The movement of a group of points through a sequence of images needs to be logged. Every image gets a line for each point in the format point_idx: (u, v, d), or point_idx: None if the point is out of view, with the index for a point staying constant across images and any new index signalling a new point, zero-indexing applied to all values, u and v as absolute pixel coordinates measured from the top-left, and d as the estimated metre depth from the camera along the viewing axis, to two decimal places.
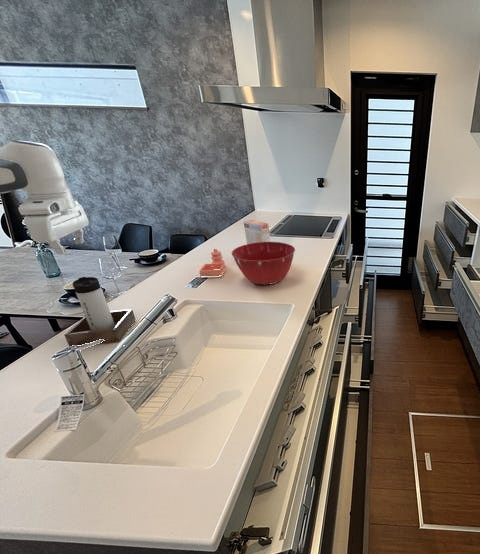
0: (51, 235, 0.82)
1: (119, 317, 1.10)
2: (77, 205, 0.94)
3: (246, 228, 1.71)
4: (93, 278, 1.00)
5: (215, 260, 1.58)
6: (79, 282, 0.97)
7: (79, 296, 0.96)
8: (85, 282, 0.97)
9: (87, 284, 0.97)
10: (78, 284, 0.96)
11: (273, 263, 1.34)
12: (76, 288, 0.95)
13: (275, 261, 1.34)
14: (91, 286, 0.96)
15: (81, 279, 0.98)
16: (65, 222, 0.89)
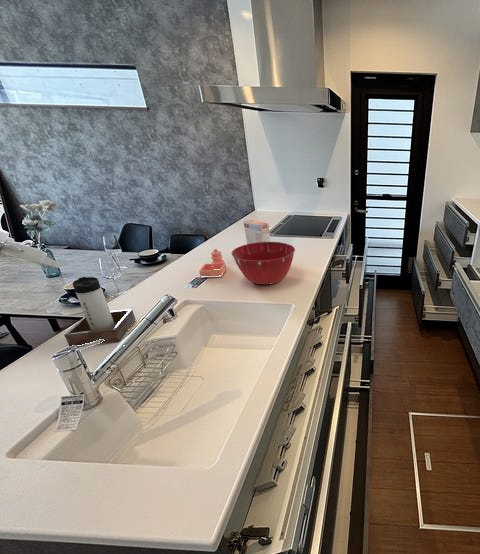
0: None
1: (119, 317, 1.10)
2: (4, 252, 0.82)
3: (246, 228, 1.71)
4: (93, 278, 1.00)
5: (215, 260, 1.58)
6: (79, 282, 0.97)
7: (79, 296, 0.96)
8: (85, 282, 0.97)
9: (87, 284, 0.97)
10: (78, 284, 0.96)
11: (273, 263, 1.34)
12: (76, 288, 0.95)
13: (275, 261, 1.34)
14: (91, 286, 0.96)
15: (81, 279, 0.98)
16: (11, 257, 0.88)
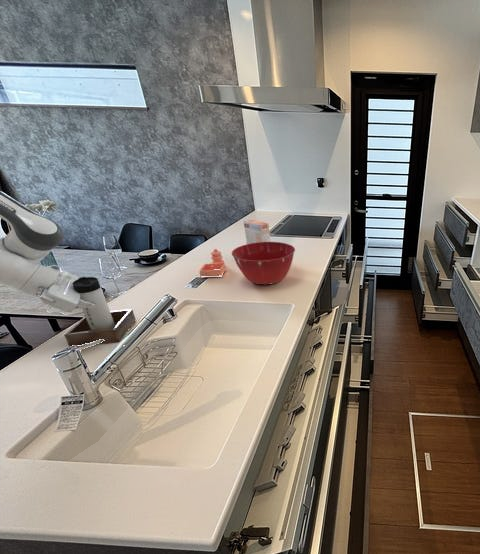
0: None
1: (119, 317, 1.10)
2: None
3: (246, 228, 1.71)
4: (93, 278, 1.00)
5: (215, 260, 1.58)
6: (79, 282, 0.97)
7: None
8: (85, 282, 0.97)
9: (87, 284, 0.97)
10: (78, 284, 0.96)
11: (273, 263, 1.34)
12: (76, 288, 0.95)
13: (275, 261, 1.34)
14: (91, 286, 0.96)
15: (81, 279, 0.98)
16: None
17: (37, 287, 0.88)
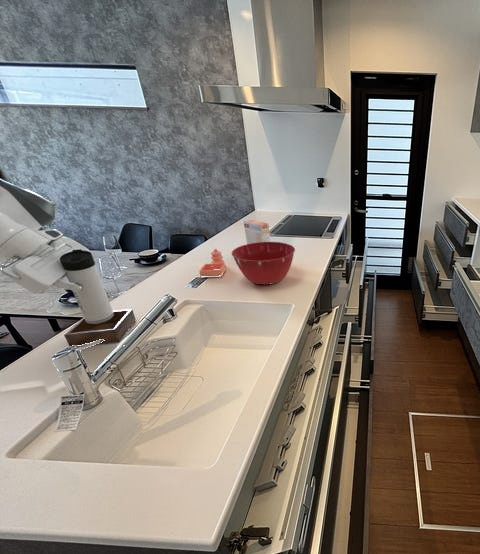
0: None
1: (119, 317, 1.10)
2: None
3: (246, 228, 1.71)
4: (88, 253, 0.80)
5: (215, 260, 1.58)
6: (70, 255, 0.78)
7: None
8: (76, 257, 0.78)
9: (76, 260, 0.77)
10: (66, 258, 0.77)
11: (273, 263, 1.34)
12: (61, 263, 0.76)
13: (275, 261, 1.34)
14: (78, 264, 0.76)
15: (75, 252, 0.79)
16: None
17: (12, 256, 0.71)
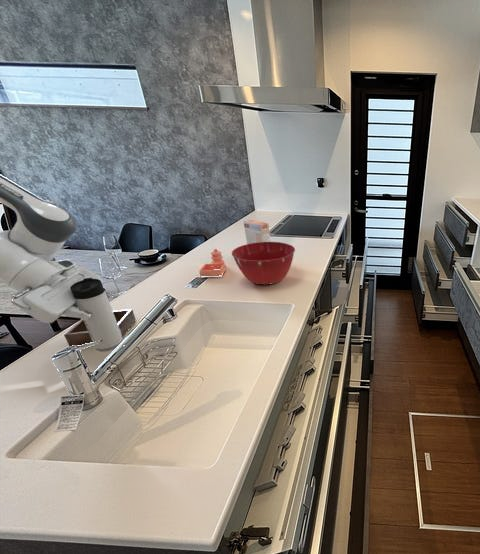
0: None
1: (119, 317, 1.10)
2: None
3: (246, 228, 1.71)
4: (98, 281, 0.81)
5: (215, 260, 1.58)
6: (81, 284, 0.79)
7: (76, 302, 0.78)
8: (86, 286, 0.79)
9: (86, 288, 0.78)
10: (77, 287, 0.78)
11: (273, 263, 1.34)
12: (72, 292, 0.77)
13: (275, 261, 1.34)
14: (87, 292, 0.77)
15: (86, 280, 0.81)
16: None
17: (24, 287, 0.72)
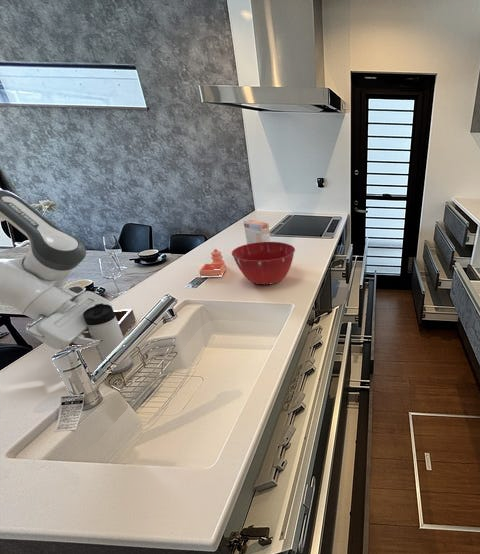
0: None
1: (119, 317, 1.10)
2: None
3: (246, 228, 1.71)
4: (109, 307, 0.84)
5: (215, 260, 1.58)
6: (93, 310, 0.83)
7: (88, 327, 0.81)
8: (97, 312, 0.82)
9: (98, 314, 0.82)
10: (89, 313, 0.81)
11: (273, 263, 1.34)
12: (84, 318, 0.80)
13: (275, 261, 1.34)
14: (99, 318, 0.81)
15: (97, 306, 0.84)
16: None
17: (38, 315, 0.75)
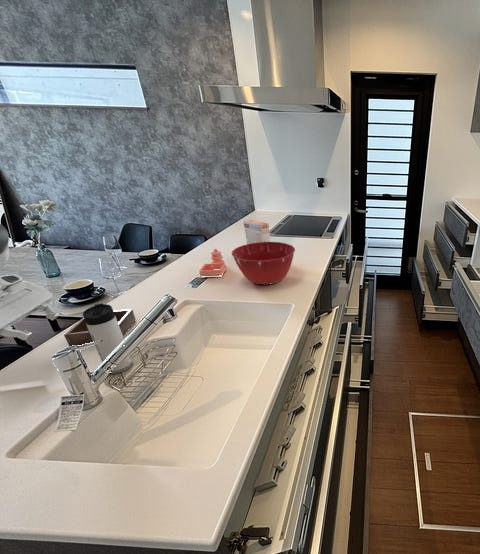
0: None
1: (119, 317, 1.10)
2: None
3: (246, 228, 1.71)
4: (109, 306, 0.84)
5: (215, 260, 1.58)
6: (93, 310, 0.83)
7: (88, 327, 0.82)
8: (97, 312, 0.82)
9: (98, 314, 0.82)
10: (89, 313, 0.81)
11: (273, 263, 1.34)
12: (84, 318, 0.80)
13: (275, 261, 1.34)
14: (98, 318, 0.81)
15: (97, 306, 0.84)
16: None
17: None
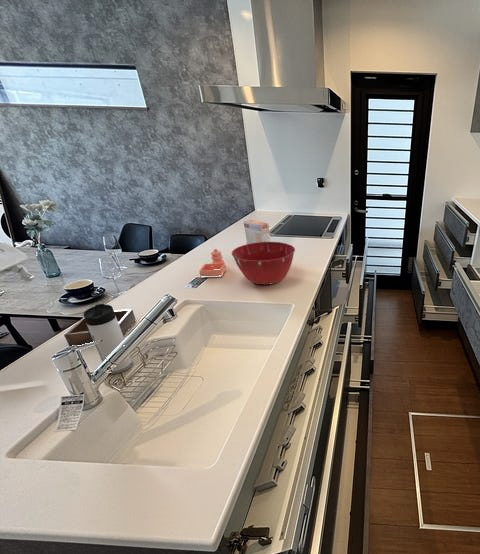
0: None
1: (119, 317, 1.10)
2: None
3: (246, 228, 1.71)
4: (110, 307, 0.84)
5: (215, 260, 1.58)
6: (93, 310, 0.83)
7: (88, 327, 0.81)
8: (98, 312, 0.82)
9: (98, 315, 0.81)
10: (89, 313, 0.81)
11: (273, 263, 1.34)
12: (85, 319, 0.80)
13: (275, 261, 1.34)
14: (99, 319, 0.80)
15: (98, 306, 0.84)
16: None
17: None
